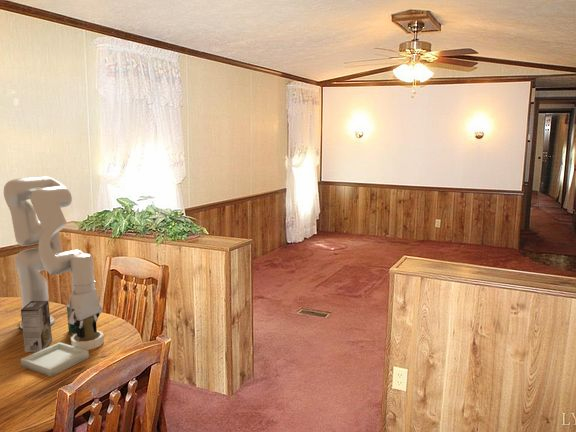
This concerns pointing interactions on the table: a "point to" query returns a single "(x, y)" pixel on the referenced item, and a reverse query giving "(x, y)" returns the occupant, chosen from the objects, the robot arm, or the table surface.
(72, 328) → the canned tomato
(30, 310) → the coffee box
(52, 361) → the tray
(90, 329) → the cork
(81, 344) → the collar
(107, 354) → the table surface
